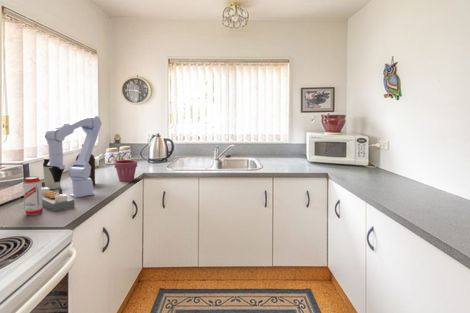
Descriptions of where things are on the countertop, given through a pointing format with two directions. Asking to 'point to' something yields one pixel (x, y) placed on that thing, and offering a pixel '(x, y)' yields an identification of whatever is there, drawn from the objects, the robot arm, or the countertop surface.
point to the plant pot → (125, 169)
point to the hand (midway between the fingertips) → (57, 182)
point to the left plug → (43, 190)
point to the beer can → (33, 195)
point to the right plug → (60, 196)
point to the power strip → (56, 203)
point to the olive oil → (92, 164)
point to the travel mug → (49, 176)
